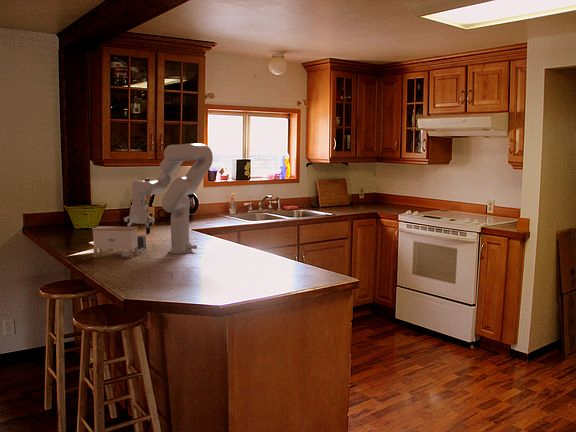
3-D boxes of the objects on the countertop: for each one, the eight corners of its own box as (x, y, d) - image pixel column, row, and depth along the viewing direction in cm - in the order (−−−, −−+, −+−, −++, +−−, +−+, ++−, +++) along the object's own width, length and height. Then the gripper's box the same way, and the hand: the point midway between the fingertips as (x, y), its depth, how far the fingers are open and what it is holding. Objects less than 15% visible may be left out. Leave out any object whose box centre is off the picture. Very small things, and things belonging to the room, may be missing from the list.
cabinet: (138, 255, 297) (138, 226, 295) (131, 258, 288) (131, 229, 286) (100, 254, 299) (99, 226, 298) (92, 257, 290) (91, 228, 288)
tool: (146, 248, 317) (145, 235, 316) (134, 254, 300) (134, 240, 299) (139, 248, 317) (138, 235, 316) (127, 253, 301) (126, 240, 300)
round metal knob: (131, 256, 296) (131, 252, 295) (128, 257, 291) (128, 253, 291) (123, 255, 296) (123, 252, 296) (120, 257, 292) (119, 253, 292)
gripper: (157, 202, 315) (156, 233, 317) (126, 201, 317) (126, 231, 319) (152, 204, 307) (152, 235, 310) (121, 202, 309) (121, 234, 312)
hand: (139, 233), depth 314 cm, fingers open, 9 cm apart
